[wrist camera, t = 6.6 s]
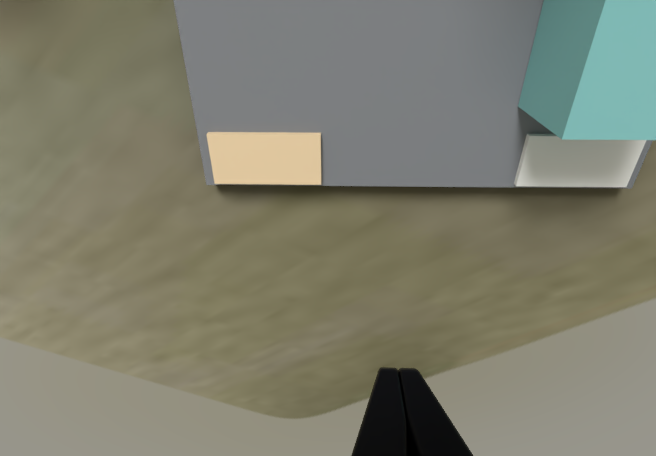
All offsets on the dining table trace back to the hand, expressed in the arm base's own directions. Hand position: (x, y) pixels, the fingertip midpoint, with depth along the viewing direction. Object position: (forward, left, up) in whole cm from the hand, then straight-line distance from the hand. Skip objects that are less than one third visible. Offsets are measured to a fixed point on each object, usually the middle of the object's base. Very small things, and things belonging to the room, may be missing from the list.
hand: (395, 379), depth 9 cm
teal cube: (-8, -5, -11) cm, 15 cm away
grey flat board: (-2, -5, -13) cm, 14 cm away
